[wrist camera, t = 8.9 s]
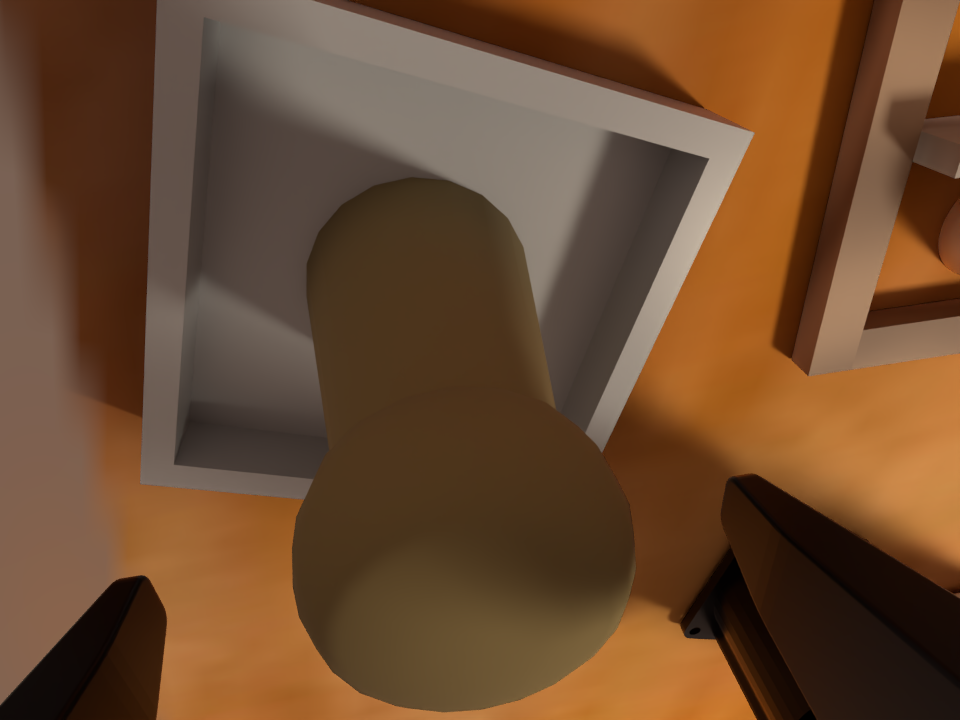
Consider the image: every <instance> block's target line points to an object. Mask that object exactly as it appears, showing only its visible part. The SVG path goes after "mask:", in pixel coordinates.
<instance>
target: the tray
mask: <svg viewBox="0 0 960 720" xmlns="http://www.w3.org/2000/svg"><path fill="white" fill-rule="evenodd" d="M753 135H754V132H752V131H750V130H748V129H746V128H744V127H742V126H740V125H738V124H736V123H734V122H732V121H730V120H727V119H725V118H723V117H721V116H719V115H717V114H715V113H713V112H711V111H709V110H707V109H704V108H701V107H697V106H694V105H691V104H687V103H684V102H681V101H678V100H674V99H671V98H668V97H664V96H661V95H658V94H654V93H651V92H648V91H645V90H641V89H638V88H635V87H631V86H628V85H625V84H622V83H618V82H615V81H612V80H608V79H605V78H602V77H598V76H595V75H592V74H589V73H585V72H582V71H579V70H575V69H572V68H569V67H566V66H562V65H559V64H556V63H552V62H549V61H546V60H542V59H539V58H536V57H533V56H529V55H526V54H523V53H519V52H516V51H513V50H510V49H506V48H503V47H500V46H496V45H493V44H490V43H486V42H483V41H480V40H477V39H473V38H470V37H467V36H463V35H460V34H457V33H454V32H450V31H447V30H444V29H440V28H437V27H434V26H430V25H427V24H424V23H421V22H417V21H414V20H411V19H407V18H404V17H401V16H397V15H394V14H391V13H388V12H384V11H381V10H378V9H374V8H371V7H368V6H365V5H361V4H358V3H355V2H351V1H348V0H157V15H156V44H155V73H154V102H153V131H152V160H151V189H150V218H149V247H148V276H147V305H146V334H145V363H144V392H143V421H142V450H141V479H140V484H145V485H155V486H166V487H177V488H187V489H198V490H209V491H219V492H230V493H241V494H251V495H262V496H273V497H283V498H294V499H305V497H306V495H307V493H308V490H309V488H310V486H311V484H312V481H313V479H314V477H315V475H316V473H317V471H318V469H319V467H320V465H321V462H322V460H323V458H324V456H325V454H326V453H327V452H328V451H329V446H328V439H327V432H326V425H325V419H324V412H323V405H322V398H321V391H320V385H319V378H318V371H317V364H316V358H315V351H314V344H313V337H312V331H311V324H310V317H309V310H308V303H307V297H306V284H307V261H308V259H309V256H310V253H311V251H312V248H313V245H314V243H315V240H316V237H317V235H318V232H319V231H320V230H321V228H322V227H323V226H324V225H325V224H326V223H327V221H328V220H329V219H330V218H331V217H332V216H333V214H334V213H335V212H336V211H337V210H338V208H339V207H340V206H341V205H342V204H344V203H345V202H347V201H349V200H350V199H352V198H354V197H356V196H357V195H359V194H361V193H362V192H364V191H366V190H367V189H369V188H371V187H372V186H374V185H379V184H383V183H387V182H392V181H396V180H401V179H405V178H410V177H415V178H426V179H437V180H448V181H451V182H453V183H456V184H458V185H460V186H463V187H465V188H467V189H470V190H472V191H474V192H477V193H479V194H481V195H483V196H484V197H485V198H486V199H487V200H488V201H490V202H491V203H492V204H493V205H494V206H495V207H496V208H497V209H498V210H500V211H501V212H502V213H503V214H504V215H505V216H506V217H507V218H508V219H509V221H510V223H511V225H512V227H513V228H514V230H515V232H516V234H517V236H518V238H519V240H520V241H521V243H522V245H523V247H524V252H525V257H526V262H527V267H528V272H529V277H530V282H531V287H532V292H533V297H534V302H535V307H536V312H537V317H538V322H539V327H540V332H541V337H542V342H543V347H544V352H545V357H546V362H547V367H548V372H549V377H550V382H551V387H552V392H553V397H554V402H555V406H556V410H557V411H558V412H560V413H561V414H562V415H564V416H565V417H566V418H568V419H569V420H570V421H572V422H573V423H575V424H576V425H577V426H578V427H579V428H580V429H581V430H582V431H583V432H584V433H585V434H586V435H587V436H588V437H589V438H590V439H591V440H593V441H594V442H595V443H596V444H597V446H598V447H599V449H600V451H601V453H602V452H603V450H604V448H605V446H606V443H607V441H608V439H609V437H610V435H611V433H612V431H613V429H614V427H615V425H616V422H617V420H618V418H619V416H620V414H621V412H622V410H623V408H624V406H625V404H626V401H627V399H628V397H629V395H630V393H631V391H632V389H633V387H634V385H635V383H636V381H637V378H638V376H639V374H640V372H641V370H642V368H643V366H644V364H645V362H646V360H647V357H648V355H649V353H650V351H651V349H652V347H653V345H654V343H655V341H656V339H657V336H658V334H659V332H660V330H661V328H662V326H663V324H664V322H665V320H666V318H667V316H668V313H669V311H670V309H671V307H672V305H673V303H674V301H675V299H676V297H677V295H678V292H679V290H680V288H681V286H682V284H683V282H684V280H685V278H686V276H687V274H688V271H689V269H690V267H691V265H692V263H693V261H694V259H695V257H696V255H697V253H698V250H699V248H700V246H701V244H702V242H703V240H704V238H705V236H706V234H707V232H708V230H709V227H710V225H711V223H712V221H713V219H714V217H715V215H716V213H717V211H718V209H719V206H720V204H721V202H722V200H723V198H724V196H725V194H726V192H727V190H728V188H729V185H730V183H731V181H732V179H733V177H734V175H735V173H736V171H737V169H738V167H739V165H740V162H741V160H742V158H743V156H744V154H745V152H746V150H747V148H748V146H749V144H750V141H751V139H752V137H753Z"/></svg>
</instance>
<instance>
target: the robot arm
mask: <svg viewBox="0 0 960 720" xmlns="http://www.w3.org/2000/svg"><path fill="white" fill-rule="evenodd" d="M721 522H722V526H723V528H724V531H725V533H726V536H727V538H728V541H729V543H730V545H731V549H730V550H729V552H728V553H727V555H726V556H725V558H724V559H723V561H722V562H721V564H720V565H719V567H718V568H717V570H716V571H715V573H714V574H713V576H712V577H711V579H710V580H709V582H708V583H707V585H706V586H705V588H704V589H703V591H702V592H701V594H700V595H699V597H698V599H697V600H696V602H695V603H694V605H693V606H692V608H691V609H690V611H689V612H688V614H687V615H686V617H685V618H684V620H683V621H682V623H681V625H680V626H681V629H682V631H683V633H684V636H685V637H687V638H695V639H716V640H717V642H718V644H719V646H720V648H721V650H722V652H723V654H724V656H725V658H726V660H727V662H728V664H729V666H730V668H731V670H732V672H733V674H734V676H735V678H736V680H737V682H738V684H739V685H740V687H741V689H742V691H743V693H744V695H745V697H746V699H747V701H748V703H749V705H750V707H751V709H752V711H753V713H754V715H755V717H756V719H757V720H960V598H959V597H958V596H956V595H954V594H953V593H951V592H949V591H948V590H946V589H945V588H943V587H941V586H940V585H938V584H936V583H935V582H933V581H931V580H930V579H928V578H926V577H925V576H923V575H921V574H920V573H918V572H917V571H915V570H913V569H912V568H910V567H908V566H907V565H905V564H903V563H902V562H900V561H898V560H897V559H895V558H893V557H892V556H890V555H889V554H887V553H885V552H884V551H882V550H880V549H879V548H877V547H875V546H874V545H872V544H870V543H869V542H868V540H867V539H863V538H861V537H859V536H857V535H856V534H854V533H852V532H851V531H849V530H847V529H846V528H844V527H842V526H841V525H839V524H838V523H836V522H834V521H833V520H831V519H829V518H828V517H826V516H824V515H823V514H821V513H819V512H818V511H816V510H814V509H813V508H811V507H810V506H808V505H806V504H805V503H803V502H801V501H800V500H798V499H796V498H795V497H793V496H791V495H790V494H788V493H786V492H785V491H783V490H782V489H780V488H778V487H777V486H775V485H773V484H772V483H770V482H768V481H767V480H765V479H763V478H762V477H760V476H758V475H756V474H744V475H738V476H732V477H730V478H729V479H728V481H727V483H726V487H725V493H724V498H723V503H722V508H721ZM166 627H167V616H166V611H165V608H164V606H163V604H162V602H161V600H160V599H159V597H158V595H157V593H156V591H155V589H154V587H153V585H152V583H151V582H150V580H149V579H148V578H147V577H146V576H142V575H140V576H134V577H128V578H122V579H118V580H116V581H114V582H113V583H112V584H111V585H110V586H109V587H108V588H107V589H106V590H105V591H104V592H103V593H102V594H101V596H100V597H99V598H98V599H97V600H96V601H95V602H94V603H93V604H92V605H91V607H90V608H89V609H88V610H87V611H86V612H85V613H84V614H83V615H82V616H81V617H80V618H79V620H78V621H77V622H76V623H75V624H74V625H73V626H72V627H71V628H70V629H69V631H68V632H67V633H66V634H65V635H64V636H63V637H62V638H61V639H60V641H59V642H58V643H57V644H56V645H55V646H54V647H53V648H52V649H51V650H50V651H49V653H48V654H47V655H46V656H45V657H44V658H43V659H42V660H41V661H40V662H39V664H37V666H36V667H35V668H34V669H33V670H32V671H31V672H30V673H29V674H28V675H27V676H26V678H25V679H24V680H23V681H22V682H21V683H20V684H19V685H18V686H17V687H16V689H15V690H14V691H13V692H12V693H11V694H10V695H9V696H8V697H7V698H6V699H5V701H4V702H3V703H2V704H1V705H0V720H156V717H157V709H158V700H159V691H160V682H161V673H162V664H163V655H164V645H165V636H166Z"/></svg>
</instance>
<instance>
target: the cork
mask: <svg viewBox="0 0 960 720" xmlns="http://www.w3.org/2000/svg"><path fill="white" fill-rule="evenodd" d="M306 297H307V303H308V310H309V317H310V324H311V331H312V337H313V344H314V351H315V358H316V364H317V371H318V378H319V385H320V391H321V398H322V405H323V412H324V419H325V425H326V432H327V439H328V446H329V451H328V452H327V453H326V454H325V456H324V458H323V460H322V462H321V465H320V467H319V469H318V471H317V473H316V475H315V477H314V479H313V481H312V484H311V486H310V488H309V490H308V493H307V495H306V497H305V499H304V501H303V504H302V506H301V508H300V510H299V512H298V515H297V517H296V523H295V530H294V538H293V546H292V568H293V590H294V595H295V600H296V604H297V609H298V614H299V618H300V620H301V621H302V623H303V625H304V627H305V629H306V631H307V633H308V634H309V636H310V638H311V640H312V642H313V644H314V645H315V647H316V649H317V650H318V652H319V653H320V655H321V656H322V658H323V659H324V660H325V662H326V663H327V665H328V666H329V668H330V669H331V670H332V672H333V673H335V674H336V675H337V676H338V677H340V678H341V679H342V680H344V681H345V682H346V683H348V684H349V685H350V686H352V687H353V688H354V689H355V690H357V691H358V692H359V693H361V694H364V695H367V696H370V697H373V698H375V699H378V700H381V701H384V702H386V703H389V704H392V705H395V706H399V707H405V708H411V709H420V710H429V711H437V712H455V711H468V710H481V709H486V708H490V707H494V706H498V705H502V704H506V703H510V702H514V701H518V700H521V699H523V698H525V697H527V696H530V695H532V694H534V693H536V692H538V691H541V690H543V689H545V688H547V687H550V686H552V685H554V684H555V683H557V682H558V681H560V680H561V679H563V678H564V677H565V676H567V675H568V674H570V673H571V672H572V671H574V670H575V669H577V668H578V667H579V666H581V665H582V664H584V663H585V662H586V661H588V660H589V659H591V658H592V657H593V656H594V655H595V654H596V653H597V652H598V651H599V649H600V648H601V647H602V646H603V645H604V644H605V642H606V641H607V640H608V639H609V638H610V636H611V635H612V634H613V633H614V632H615V631H616V629H617V628H618V625H619V623H620V620H621V617H622V615H623V612H624V610H625V607H626V604H627V602H628V599H629V596H630V592H631V588H632V584H633V580H634V576H635V572H636V560H635V544H634V532H633V525H632V518H631V511H630V504H629V502H628V500H627V498H626V496H625V494H624V492H623V490H622V488H621V486H620V484H619V483H618V481H617V479H616V477H615V475H614V473H613V472H612V470H611V468H610V466H609V465H608V463H607V461H606V460H605V458H604V456H603V454H602V453H601V451H600V449H599V447H598V446H597V444H596V443H595V442H594V441H593V440H591V439H590V438H589V437H588V436H587V435H586V434H585V433H584V432H583V431H582V430H581V429H580V428H579V427H578V426H577V425H576V424H575V423H573V422H572V421H570V420H569V419H568V418H566V417H565V416H564V415H562V414H561V413H560V412H558V411H557V410H556V406H555V402H554V397H553V392H552V387H551V382H550V377H549V372H548V367H547V362H546V357H545V352H544V347H543V342H542V337H541V332H540V327H539V322H538V317H537V312H536V307H535V302H534V297H533V292H532V287H531V282H530V277H529V272H528V267H527V262H526V257H525V252H524V247H523V245H522V243H521V241H520V240H519V238H518V236H517V234H516V232H515V230H514V228H513V227H512V225H511V223H510V221H509V219H508V218H507V217H506V216H505V215H504V214H503V213H502V212H501V211H500V210H498V209H497V208H496V207H495V206H494V205H493V204H492V203H491V202H490V201H488V200H487V199H486V198H485V197H484V196H483V195H481V194H479V193H477V192H474V191H472V190H470V189H467V188H465V187H463V186H460V185H458V184H456V183H453V182H451V181H448V180H437V179H426V178H415V177H410V178H405V179H401V180H396V181H392V182H387V183H383V184H379V185H374V186H372V187H371V188H369V189H367V190H366V191H364V192H362V193H361V194H359V195H357V196H356V197H354V198H352V199H350V200H349V201H347V202H345V203H344V204H342V205H341V206H340V207H339V208H338V210H337V211H336V212H335V213H334V214H333V216H332V217H331V218H330V219H329V220H328V221H327V223H326V224H325V225H324V226H323V227H322V228H321V230H320V231H319V232H318V235H317V237H316V240H315V243H314V245H313V248H312V251H311V253H310V256H309V259H308V261H307V284H306Z"/></svg>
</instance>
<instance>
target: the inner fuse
mask: <svg viewBox="0 0 960 720" xmlns="http://www.w3.org/2000/svg"><path fill="white" fill-rule="evenodd" d="M938 250H939V255H940V258H941V260H942V262H943V264H944V265H945V266H946V267H947V268H948V269H950V270H951V271H953V272H955V273H956V274H958V275H960V198H959V199H958V200H957V201H956V203H955V204H954V205H953V207H952V208H951V210H950V211H949V213H948V215H947V217H946V218H945V220H944V223H943V225H942V228H941V231H940V235H939V241H938Z"/></svg>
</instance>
